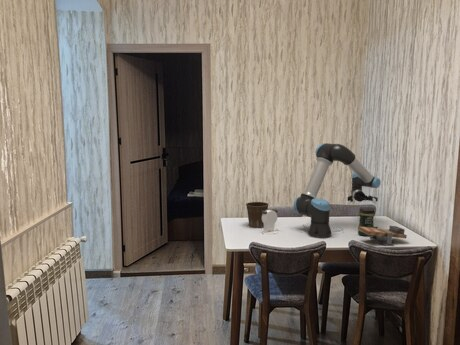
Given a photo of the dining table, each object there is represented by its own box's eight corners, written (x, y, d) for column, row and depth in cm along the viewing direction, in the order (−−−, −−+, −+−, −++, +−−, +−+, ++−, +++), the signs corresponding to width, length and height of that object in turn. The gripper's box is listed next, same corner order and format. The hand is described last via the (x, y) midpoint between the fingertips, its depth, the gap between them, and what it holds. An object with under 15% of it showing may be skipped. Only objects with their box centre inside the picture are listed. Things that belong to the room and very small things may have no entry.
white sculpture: (270, 228, 270) (270, 207, 268) (281, 232, 261) (282, 210, 259) (257, 231, 262) (257, 209, 261) (268, 235, 253) (268, 212, 252)
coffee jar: (360, 236, 250) (361, 208, 248) (356, 233, 258) (357, 206, 256) (375, 236, 250) (376, 208, 248) (370, 233, 258) (372, 206, 256)
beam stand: (384, 246, 230) (385, 233, 229) (369, 238, 246) (370, 226, 245) (393, 245, 231) (394, 233, 230) (378, 238, 247) (378, 226, 246)
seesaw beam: (368, 235, 229) (369, 226, 229) (357, 229, 241) (358, 221, 241) (406, 238, 235) (407, 230, 234) (394, 233, 247) (395, 225, 246)
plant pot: (248, 229, 268) (248, 206, 266) (243, 223, 284) (243, 202, 282) (271, 228, 271) (271, 205, 269) (264, 222, 287) (264, 201, 285)
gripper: (376, 201, 281) (383, 207, 260) (341, 200, 284) (345, 206, 264) (377, 190, 280) (384, 196, 259) (341, 190, 284) (345, 195, 263)
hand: (364, 201), depth 261 cm, fingers open, 13 cm apart
